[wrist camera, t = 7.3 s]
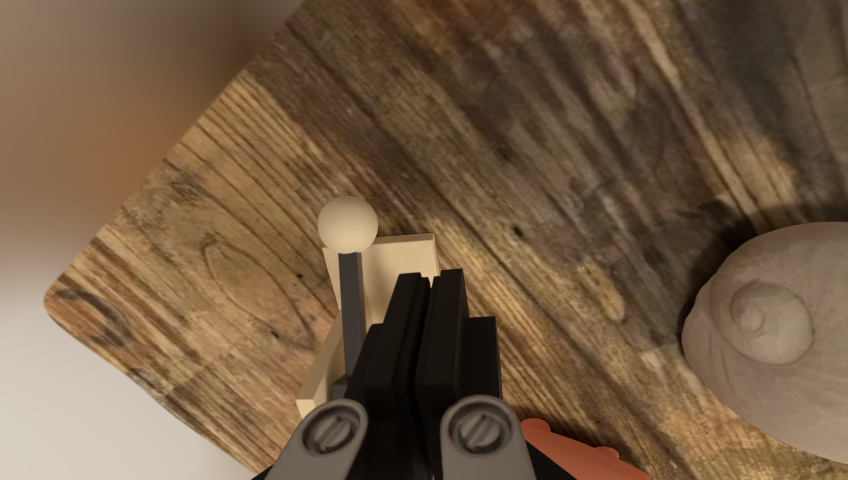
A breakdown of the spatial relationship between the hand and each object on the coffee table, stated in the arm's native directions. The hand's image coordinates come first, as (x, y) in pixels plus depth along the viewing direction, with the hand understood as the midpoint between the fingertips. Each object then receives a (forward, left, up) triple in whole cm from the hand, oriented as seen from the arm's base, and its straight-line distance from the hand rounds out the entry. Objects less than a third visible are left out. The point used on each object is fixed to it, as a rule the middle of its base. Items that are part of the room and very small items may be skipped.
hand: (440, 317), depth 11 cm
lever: (-4, -9, -11) cm, 15 cm away
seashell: (+24, -6, -17) cm, 30 cm away
